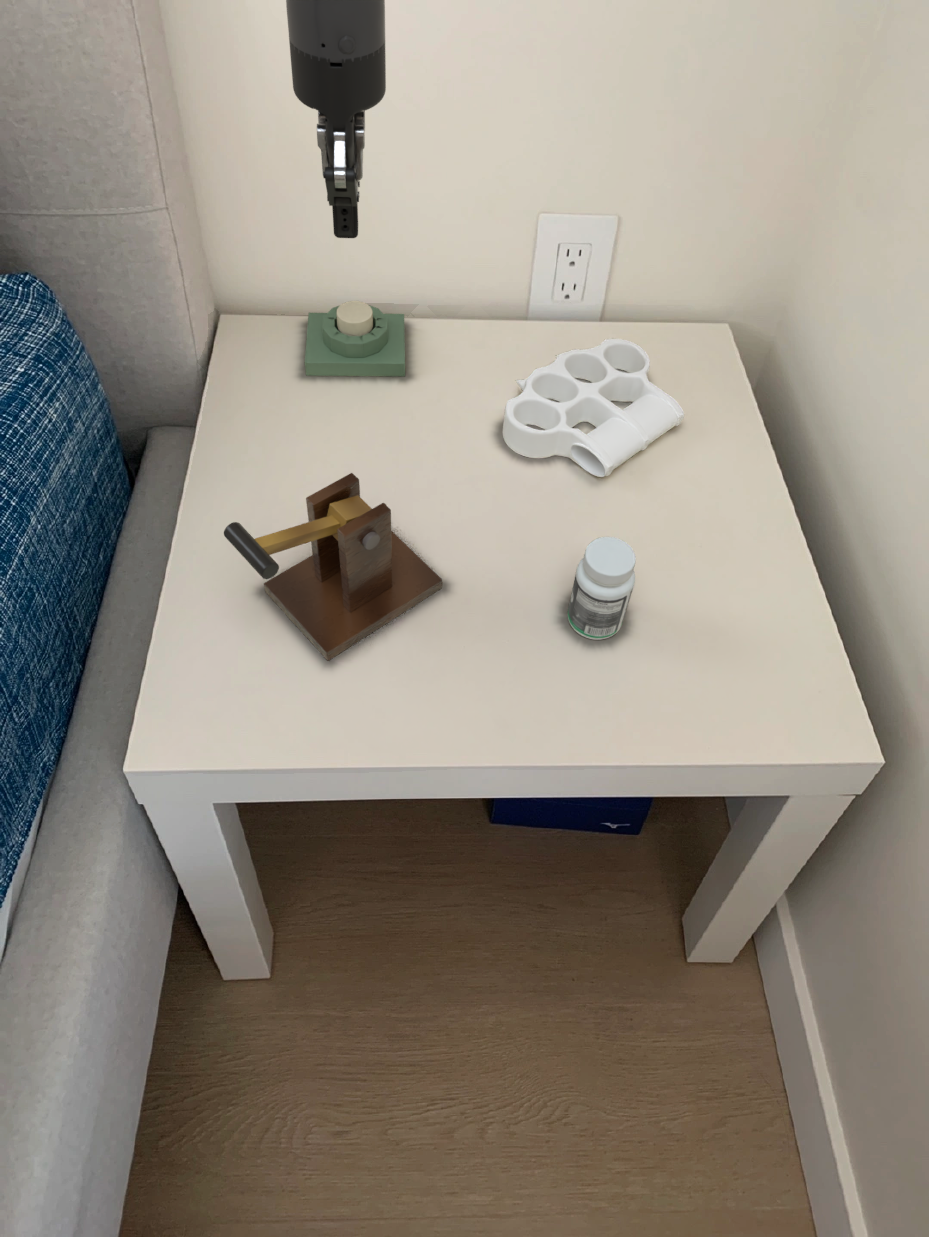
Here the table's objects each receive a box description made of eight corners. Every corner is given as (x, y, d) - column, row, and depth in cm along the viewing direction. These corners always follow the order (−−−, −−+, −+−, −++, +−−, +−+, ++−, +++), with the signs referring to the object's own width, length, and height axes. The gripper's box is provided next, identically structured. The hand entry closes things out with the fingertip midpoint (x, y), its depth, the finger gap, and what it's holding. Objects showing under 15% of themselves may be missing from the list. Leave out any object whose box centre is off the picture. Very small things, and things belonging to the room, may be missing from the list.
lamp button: (336, 337, 98) (335, 322, 96) (337, 314, 100) (336, 300, 98) (372, 337, 98) (372, 323, 97) (373, 315, 100) (372, 300, 99)
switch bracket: (327, 661, 79) (318, 578, 70) (264, 592, 82) (248, 505, 74) (442, 588, 84) (446, 502, 75) (377, 526, 87) (375, 437, 79)
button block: (306, 375, 99) (303, 347, 96) (309, 325, 103) (307, 297, 101) (405, 376, 99) (404, 349, 97) (404, 327, 104) (404, 299, 101)
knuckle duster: (580, 502, 90) (470, 419, 96) (700, 415, 98) (592, 343, 104) (585, 477, 88) (472, 393, 93) (708, 389, 95) (597, 317, 101)
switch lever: (259, 587, 69) (264, 561, 68) (221, 544, 71) (225, 519, 70) (379, 545, 76) (386, 522, 75) (341, 508, 79) (347, 484, 77)
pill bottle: (590, 587, 85) (606, 522, 78) (633, 619, 83) (654, 556, 76) (554, 618, 82) (568, 554, 76) (598, 651, 81) (615, 589, 74)
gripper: (293, -6, 80) (308, 193, 94) (283, 70, 72) (301, 276, 86) (385, -2, 80) (387, 195, 94) (385, 74, 73) (386, 277, 87)
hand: (346, 233), depth 90 cm, fingers closed
